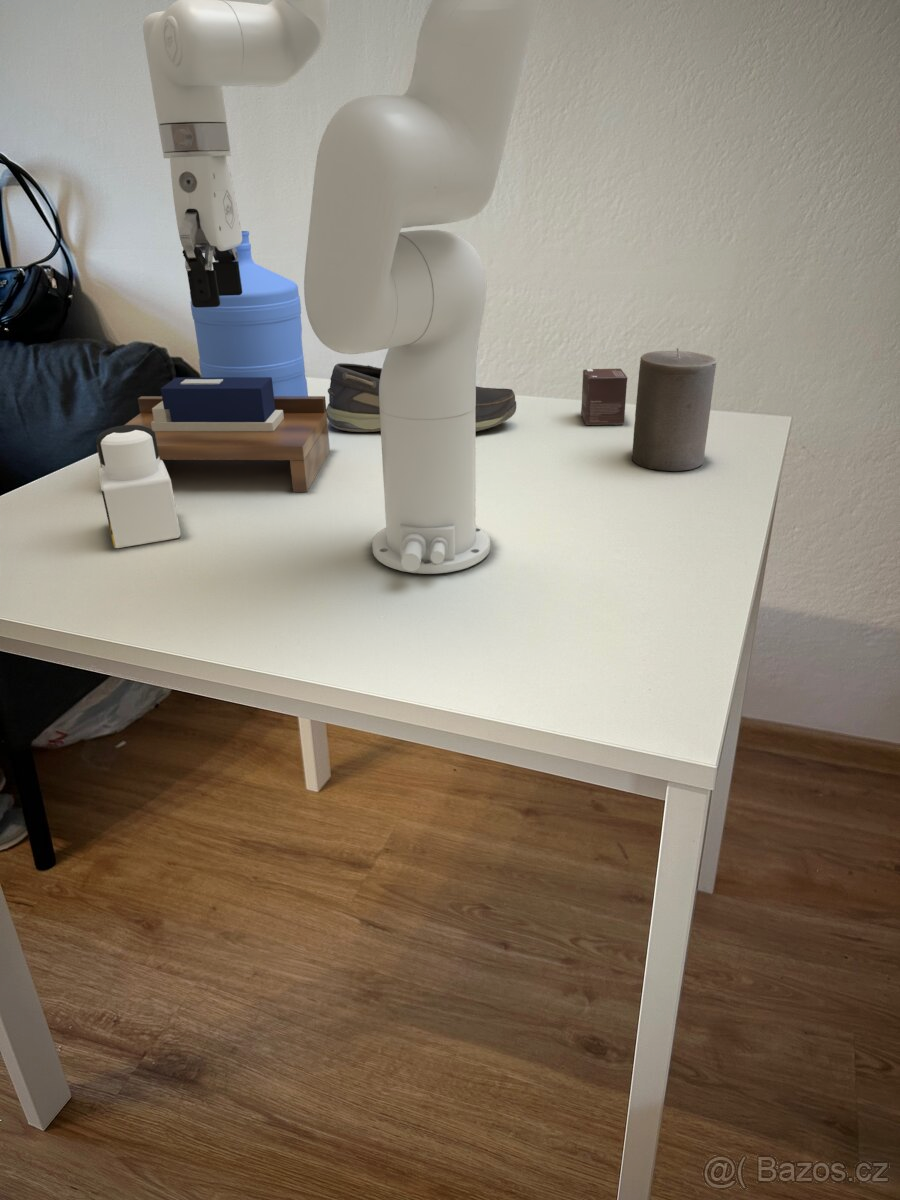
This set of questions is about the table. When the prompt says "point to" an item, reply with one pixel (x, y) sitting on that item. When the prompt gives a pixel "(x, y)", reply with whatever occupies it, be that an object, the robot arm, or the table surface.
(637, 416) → the pillar candle
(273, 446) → the shelf
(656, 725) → the table surface
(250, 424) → the blue block on tray
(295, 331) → the water jug
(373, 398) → the boat shoe
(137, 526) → the medicine bottle
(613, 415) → the box
